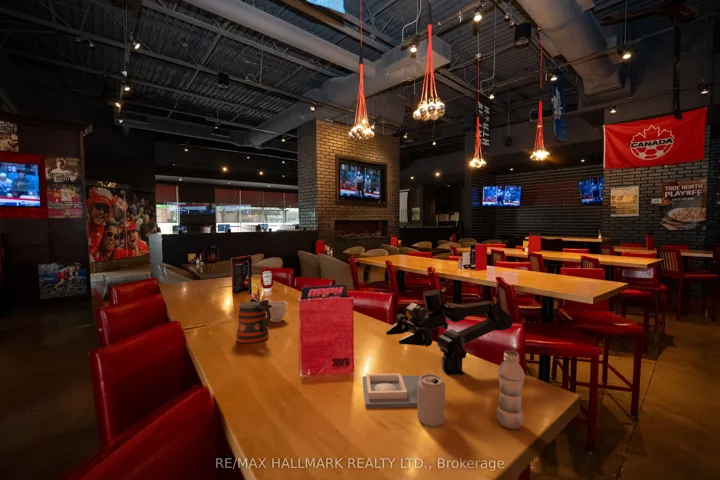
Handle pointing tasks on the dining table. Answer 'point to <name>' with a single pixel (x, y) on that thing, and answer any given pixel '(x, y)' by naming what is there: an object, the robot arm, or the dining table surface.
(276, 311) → the teacup
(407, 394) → the base board
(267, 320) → the beer stein
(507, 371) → the plastic bottle
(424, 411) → the can
